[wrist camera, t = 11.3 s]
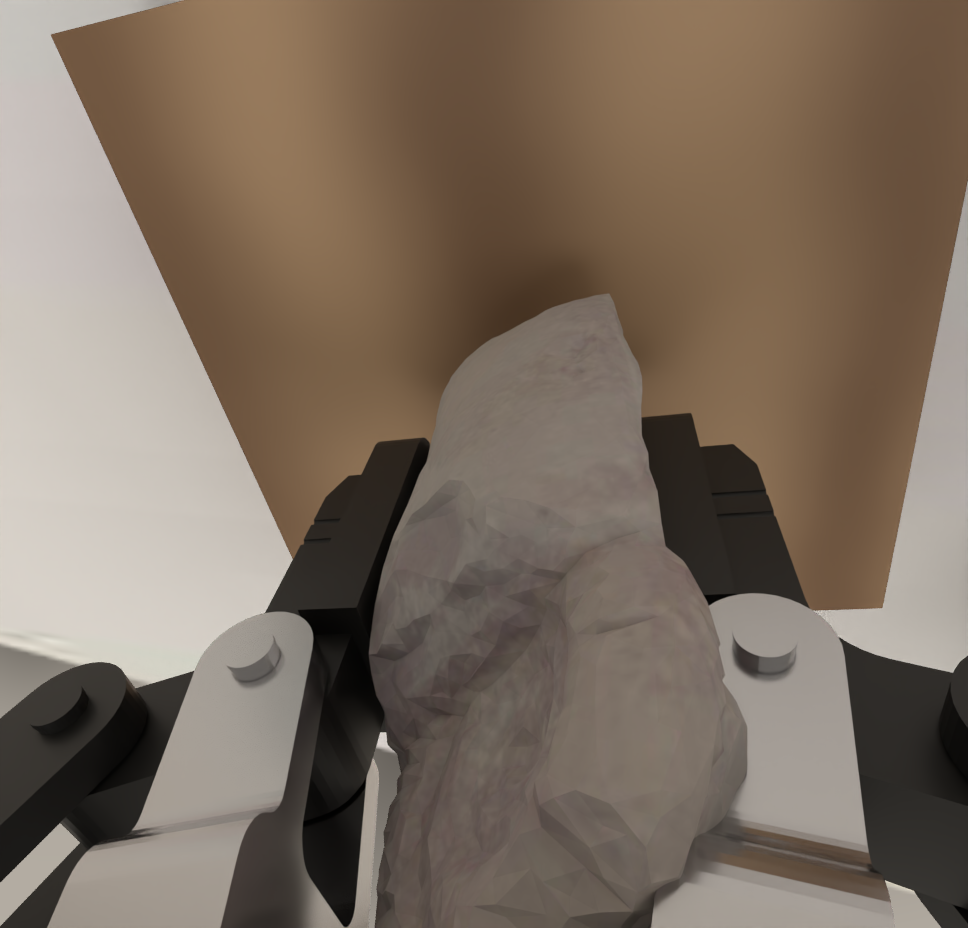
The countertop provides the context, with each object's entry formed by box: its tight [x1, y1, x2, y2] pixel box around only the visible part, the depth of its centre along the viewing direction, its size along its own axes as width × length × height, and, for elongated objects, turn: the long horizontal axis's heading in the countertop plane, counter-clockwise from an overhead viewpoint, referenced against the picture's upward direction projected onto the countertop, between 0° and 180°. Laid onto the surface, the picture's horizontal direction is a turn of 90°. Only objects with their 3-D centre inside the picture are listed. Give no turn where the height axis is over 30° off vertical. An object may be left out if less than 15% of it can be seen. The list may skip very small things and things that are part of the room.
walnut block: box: [51, 0, 968, 610], centre depth 14 cm, size 14×14×3 cm
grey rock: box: [369, 293, 747, 928], centre depth 8 cm, size 6×4×10 cm, turn 178°
